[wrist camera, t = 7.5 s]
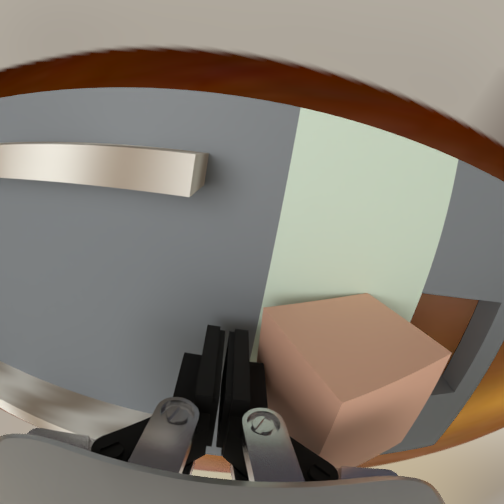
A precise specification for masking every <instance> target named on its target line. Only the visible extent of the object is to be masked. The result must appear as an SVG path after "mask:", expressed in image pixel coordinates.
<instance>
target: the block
mask: <svg viewBox="0 0 504 504" xmlns="http://www.w3.org/2000/svg"><path fill="white" fill-rule="evenodd" d="M451 354H452V353H451V352H450V351H449V350H447V349H446V348H444V347H443V346H442V345H440V344H439V343H438V342H436V341H435V340H433V339H432V338H431V337H429V336H428V335H426V334H425V333H424V332H422V331H421V330H420V329H418V328H417V327H415V326H414V325H413V324H411V323H410V322H408V321H407V320H405V319H404V318H403V317H401V316H400V315H398V314H397V313H396V312H394V311H393V310H391V309H390V308H388V307H387V306H386V305H384V304H383V303H381V302H380V301H378V300H377V299H376V298H374V297H373V296H371V295H370V294H368V293H364V294H357V295H351V296H345V297H338V298H332V299H325V300H318V301H311V302H303V303H296V304H288V305H280V306H272V307H263V314H262V323H261V331H260V339H259V347H258V355H257V362H258V363H263V364H264V369H265V381H266V392H267V403H268V409H270V410H273V411H275V412H277V413H278V414H279V415H280V416H281V417H282V418H283V420H284V422H285V425H286V428H287V431H288V434H289V436H291V437H292V438H293V439H295V440H296V441H298V442H299V443H301V444H302V445H303V446H305V447H306V448H308V449H309V450H311V451H312V452H314V453H315V454H317V455H318V456H320V457H322V458H323V459H325V460H326V461H328V462H329V463H331V464H332V465H333V466H334V467H335V468H340V467H341V466H348V467H356V466H358V465H360V464H362V463H364V462H366V461H368V460H370V459H372V458H374V457H376V456H378V455H380V454H381V453H383V452H385V451H387V450H389V449H390V448H392V447H394V446H396V445H397V444H399V443H401V442H402V440H403V439H404V437H405V436H406V434H407V433H408V431H409V430H410V428H411V427H412V425H413V423H414V422H415V420H416V419H417V417H418V415H419V414H420V412H421V410H422V409H423V407H424V405H425V404H426V402H427V400H428V398H429V397H430V395H431V393H432V391H433V389H434V388H435V386H436V384H437V382H438V380H439V378H440V376H441V374H442V372H443V370H444V368H445V366H446V364H447V362H448V360H449V358H450V356H451Z"/></svg>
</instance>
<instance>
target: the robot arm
mask: <svg viewBox="0 0 504 504" xmlns="http://www.w3.org/2000/svg"><path fill="white" fill-rule="evenodd" d="M220 328H221V326H214V325H207V330H206V336H205V341H204V346H203V352H202V355H198V354H192V353H186V352H185V353H184V355H183V359H182V363H181V367H180V371H179V375H178V379H177V383H176V386H175V390H174V394H173V397H170V398H166V399H164V400H162V401H161V402H159V404H158V405H157V406H156V408H155V410H154V412H153V414H152V416H151V417H149V418H147V419H144V420H142V421H140V422H137V423H135V424H132V425H130V426H127V427H125V428H122V429H119V430H117V431H114V432H111V433H109V434H106V435H103V436H101V437H99V438H97V439H90V437H89V436H87V435H79V434H73V433H67V432H61V431H55V430H50V429H45V428H35V429H32V430H31V431H29V433H27V434H6V435H3V436H0V504H445V502H444V501H443V499H442V497H441V495H440V494H439V493H438V491H437V490H436V489H435V488H434V487H433V486H432V485H431V484H429V483H428V482H426V481H423V480H420V479H416V478H411V477H404V476H398V475H397V474H396V473H395V472H393V471H391V470H386V469H372V468H359V467H348V466H341V467H340V468H335V467H334V466H333V465H332V464H331V463H329V462H328V461H326V460H325V459H323V458H322V457H320V456H318V455H317V454H315V453H314V452H312V451H311V450H309V449H308V448H306V447H305V446H303V445H302V444H301V443H299V442H298V441H296V440H295V439H293V438H292V437H291V436H289V434H288V431H287V428H286V425H285V422H284V420H283V418H282V417H281V416H280V415H279V414H278V413H277V412H275V411H273V410H270V409H268V403H267V392H266V381H265V369H264V364H263V363H258V362H249V332H248V330H242V329H235V331H234V332H231V331H229V337H228V343H227V349H226V355H225V361H224V367H223V373H222V364H223V352H224V341H225V331H224V330H220ZM221 375H222V380H221ZM220 387H221V389H220ZM219 397H220V402H219ZM218 404H219V414H218V427H217V441H216V447H218V448H221V455H223V457H224V458H225V459H226V460H227V461H228V462H229V463H230V470H231V476H232V480H227V479H217V478H208V477H200V476H193V475H191V474H192V471H193V468H194V465H195V460H196V459H198V458H200V457H202V456H203V455H205V453H206V446H210V447H212V442H213V435H214V429H215V423H216V417H217V411H218Z"/></svg>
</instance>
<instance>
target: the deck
mask: <svg viewBox="0 0 504 504" xmlns="http://www.w3.org/2000/svg"><path fill="white" fill-rule="evenodd" d="M6 142H86V143H107V144H123V145H137V146H149V147H159V148H169V149H178V150H187V151H195V152H203V153H209V157H208V163H207V169H206V176H205V183H204V186H202V187H201V188H200V189H199V190H198V191H196V192H195V193H194V194H193V195H192V196H190V197H184V196H177V195H169V194H162V193H154V192H146V191H138V190H130V189H121V188H113V187H104V186H94V185H84V184H74V183H63V182H52V181H40V180H27V179H12V178H0V361H1V362H3V363H5V364H7V365H9V366H12V367H14V368H16V369H18V370H20V371H22V372H25V373H27V374H29V375H32V376H34V377H36V378H39V379H41V380H44V381H46V382H49V383H51V384H54V385H56V386H59V387H62V388H64V389H67V390H70V391H73V392H76V393H78V394H81V395H84V396H88V397H91V398H94V399H97V400H100V401H104V402H107V403H110V404H114V405H118V406H121V407H125V408H129V409H133V410H137V411H141V412H145V413H149V414H153V412H154V410H155V408H156V406H157V405H158V404H159V402H161V401H162V400H164V399H166V398H170V397H173V394H174V390H175V386H176V383H177V379H178V375H179V371H180V367H181V363H182V359H183V355H184V353H185V352H186V353H192V354H198V355H202V352H203V346H204V341H205V336H206V330H207V325H214V326H221V328H220V330H224V331H225V341H224V352H223V364H222V373H223V367H224V361H225V355H226V349H227V343H228V337H229V331H231V332H234V331H235V329H242V330H248V332H249V362H257V355H258V347H259V339H260V331H261V323H262V314H263V307H272V306H280V305H288V304H296V303H303V302H311V301H318V300H325V299H332V298H338V297H345V296H351V295H357V294H364V293H368V294H370V295H371V296H373V297H374V298H376V299H377V300H378V301H380V302H381V303H383V304H384V305H386V306H387V307H388V308H390V309H391V310H393V311H394V312H396V313H397V314H398V315H400V316H401V317H403V318H404V319H405V320H407V321H408V322H410V321H411V319H412V316H413V314H414V311H415V309H416V306H417V304H418V301H419V299H420V296H421V294H422V293H426V294H433V295H441V296H450V297H458V298H466V299H474V300H479V302H478V304H477V307H476V309H475V311H474V314H473V316H472V318H471V320H470V323H469V325H468V327H467V329H466V331H465V333H464V335H463V337H462V339H461V341H460V343H459V345H458V347H457V349H456V351H455V353H454V355H453V357H452V359H451V360H450V362H449V364H448V366H447V368H446V369H445V371H444V373H443V375H441V376H440V378H439V380H438V382H437V384H436V386H435V388H434V389H433V391H432V393H431V395H430V397H429V398H428V400H427V402H426V404H425V405H424V407H423V409H422V410H421V412H420V414H419V415H418V417H417V419H416V420H415V422H414V423H413V425H412V427H411V428H410V430H409V431H408V433H407V434H406V436H405V437H404V439H403V440H402V442H401V443H399V444H397V445H396V446H394V447H392V448H390V449H389V450H387V451H385V452H383V453H381V454H388V453H394V452H400V451H406V450H411V449H417V448H422V447H426V446H431V445H434V444H435V443H436V442H437V441H438V440H439V438H440V437H441V436H442V435H443V433H444V432H445V431H446V430H447V428H448V427H449V426H450V424H451V423H452V422H453V421H454V419H455V418H456V417H457V415H458V414H459V412H460V411H461V410H462V408H463V407H464V405H465V404H466V403H467V401H468V400H469V398H470V397H471V395H472V394H473V392H474V391H475V389H476V388H477V386H478V384H479V383H480V381H481V380H482V378H483V376H484V375H485V373H486V371H487V370H488V368H489V366H490V365H491V363H492V361H493V359H494V358H495V356H496V354H497V352H498V350H499V348H500V346H501V345H502V343H503V341H504V182H503V181H501V180H499V179H497V178H496V177H494V176H492V175H490V174H488V173H486V172H484V171H482V170H480V169H478V168H476V167H474V166H472V165H469V164H467V163H465V162H463V161H461V160H459V159H456V158H454V157H452V156H450V155H447V154H445V153H443V152H440V151H438V150H435V149H433V148H430V147H428V146H425V145H423V144H420V143H418V142H415V141H412V140H410V139H407V138H404V137H401V136H399V135H396V134H393V133H390V132H387V131H384V130H381V129H378V128H375V127H372V126H368V125H365V124H362V123H358V122H355V121H352V120H348V119H344V118H341V117H337V116H333V115H330V114H326V113H322V112H318V111H313V110H309V109H305V108H300V107H296V106H291V105H286V104H281V103H276V102H271V101H265V100H259V99H253V98H247V97H241V96H234V95H226V94H218V93H210V92H200V91H189V90H176V89H159V88H84V89H68V90H56V91H46V92H37V93H29V94H22V95H15V96H9V97H3V98H0V143H6ZM221 380H222V375H221ZM220 389H221V387H220ZM219 402H220V397H219ZM218 414H219V404H218V411H217V417H216V423H215V429H214V435H213V442H212V447H210V446H206V453H205V454H211V455H218V456H223V455H221V448H218V447H216V441H217V427H218ZM381 454H380V455H381Z"/></svg>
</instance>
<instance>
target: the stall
mask: <svg viewBox="0 0 504 504" xmlns="http://www.w3.org/2000/svg"><path fill="white" fill-rule="evenodd" d="M208 157H209V153H203V152H195V151H187V150H178V149H169V148H159V147H149V146H137V145H123V144H107V143H86V142H6V143H0V178H12V179H27V180H40V181H52V182H63V183H74V184H84V185H94V186H104V187H113V188H121V189H130V190H138V191H146V192H154V193H162V194H169V195H177V196H184V197H190V196H192V195H193V194H194V193H195V192H196V191H198V190H199V189H200V188H201V187H202V186H204V183H205V176H206V169H207V163H208ZM0 408H2V409H4V410H5V411H7V412H9V413H11V414H13V415H15V416H17V417H18V418H20V419H22V420H24V421H26V422H28V423H31V424H33V425H35V426H37V427H39V428H45V429H50V430H55V431H61V432H67V433H73V434H79V435H87V436H89V437H90V439H97V438H99V437H101V436H103V435H106V434H109V433H111V432H114V431H117V430H119V429H122V428H125V427H127V426H130V425H132V424H135V423H137V422H140V421H142V420H144V419H147V418H149V417H151V416H152V414H149V413H145V412H141V411H137V410H133V409H129V408H125V407H121V406H118V405H114V404H110V403H107V402H104V401H100V400H97V399H94V398H91V397H88V396H84V395H81V394H78V393H76V392H73V391H70V390H67V389H64V388H62V387H59V386H56V385H54V384H51V383H49V382H46V381H44V380H41V379H39V378H36V377H34V376H32V375H29V374H27V373H25V372H22V371H20V370H18V369H16V368H14V367H12V366H9V365H7V364H5V363H3V362H1V361H0Z"/></svg>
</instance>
